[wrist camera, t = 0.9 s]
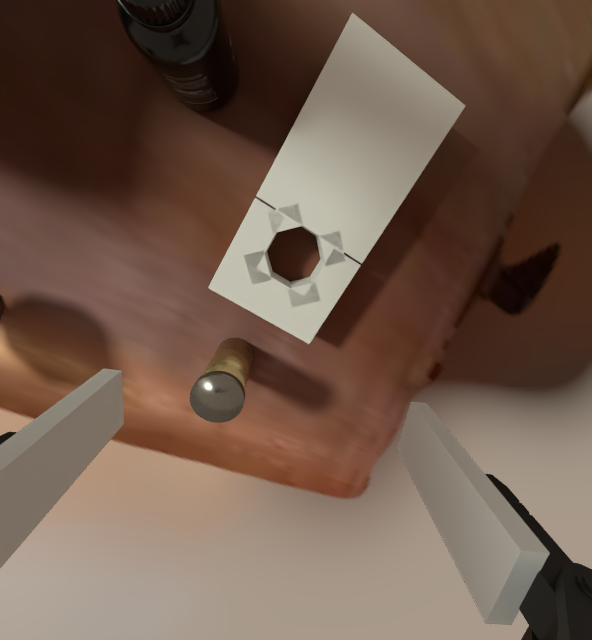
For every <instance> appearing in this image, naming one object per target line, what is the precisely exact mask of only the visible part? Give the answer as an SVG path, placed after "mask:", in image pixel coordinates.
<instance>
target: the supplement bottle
mask: <svg viewBox="0 0 592 640" xmlns="http://www.w3.org/2000/svg"><path fill="white" fill-rule="evenodd" d="M116 5H117V10H118V14H119V17H120V20H121V23H122V25H123V28H124V30H125V32H126V34H127V35H128V37H129V39H130V40H131V42H132V43H133V44H134V46H135V47H136V49H137V50H138V51H139V52H140V54H141V55H142V56H143V57H144V58H145V60H146V61H147V62H148V63H149V65H150V66H151V67H152V68H153V70H154V71H155V72H156V73H157V75H158V76H159V77H160V78H161V79H162V81H163V82H164V83H165V84H166V86H167V87H168V88H169V89H170V91H171V92H172V93H173V94H174V95H175V96H176V98H177V99H178V100H179V101H180V102H181V103H183V104H184V105H185V106H187V107H188V108H190V109H193V110H195V111H199V112H212V111H216V110H218V109H220V108H222V107H223V106H224V105H226V104H227V103H228V102H229V100H230V99H231V98H232V96H233V94H234V92H235V89H236V86H237V82H238V63H237V58H236V54H235V51H234V47H233V44H232V40H231V37H230V33H229V30H228V26H227V23H226V20H225V16H224V13H223V9H222V6H221V2H220V0H116Z"/></svg>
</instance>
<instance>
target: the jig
mask: <svg viewBox="0 0 592 640" xmlns="http://www.w3.org/2000/svg"><path fill="white" fill-rule="evenodd" d="M464 108H465V105H464V104H463V103H462V102H460V101H459V100H458V99H457V98H456V97H454V96H453V95H452V94H451V93H449V92H448V91H447V90H446V89H445V88H443V87H442V86H441V85H440V84H439V83H437V82H436V81H435V80H434V79H432V78H431V77H430V76H429V75H428V74H426V73H425V72H424V71H423V70H422V69H420V68H419V67H418V66H417V65H415V64H414V63H413V62H412V61H411V60H409V59H408V58H407V57H406V56H405V55H403V54H402V53H401V52H400V51H398V50H397V49H396V48H395V47H394V46H392V45H391V44H390V43H389V42H388V41H386V40H385V39H384V38H383V37H381V36H380V35H379V34H378V33H377V32H375V31H374V30H373V29H372V28H371V27H369V26H368V25H367V24H366V23H364V22H363V21H362V20H361V19H360V18H358V17H357V16H356V15H355V14H354V13H352V14H351V16H350V18H349V20H348V22H347V24H346V26H345V28H344V30H343V32H342V34H341V35H340V37H339V39H338V41H337V43H336V45H335V47H334V49H333V51H332V53H331V54H330V56H329V58H328V60H327V62H326V64H325V66H324V68H323V70H322V72H321V74H320V75H319V77H318V79H317V81H316V83H315V85H314V87H313V89H312V91H311V93H310V94H309V96H308V98H307V100H306V102H305V104H304V106H303V108H302V110H301V112H300V114H299V115H298V117H297V119H296V121H295V123H294V125H293V127H292V129H291V131H290V133H289V135H288V136H287V138H286V140H285V142H284V144H283V146H282V148H281V150H280V152H279V154H278V155H277V157H276V159H275V161H274V163H273V165H272V167H271V169H270V171H269V173H268V175H267V176H266V178H265V180H264V182H263V184H262V186H261V188H260V190H259V192H258V194H257V195H256V196H257V197H258V199H259V200H260V201H259V200H258V199H256V198H255V199H254V201H253V203H252V205H251V207H250V209H249V211H248V213H247V215H246V216H245V218H244V220H243V222H242V224H241V226H240V228H239V230H238V232H237V234H236V236H235V237H234V239H233V241H232V243H231V245H230V247H229V249H228V251H227V253H226V255H225V256H224V258H223V260H222V262H221V264H220V266H219V268H218V270H217V272H216V274H215V276H214V277H213V279H212V281H211V283H210V285H209V287H208V288H209V289H211V290H213V291H215V292H216V293H218V294H220V295H222V296H224V297H225V298H227V299H229V300H231V301H233V302H234V303H236V304H238V305H240V306H242V307H243V308H245V309H247V310H249V311H251V312H252V313H254V314H256V315H258V316H260V317H261V318H263V319H265V320H267V321H268V322H270V323H272V324H274V325H276V326H277V327H279V328H281V329H283V330H285V331H286V332H288V333H290V334H292V335H294V336H295V337H297V338H299V339H301V340H303V341H304V342H306V343H308V344H310V342H311V341H312V339H313V338H314V336H315V335H316V333H317V331H318V330H319V328H320V327H321V325H322V324H323V322H324V321H325V319H326V318H327V316H328V315H329V313H330V312H331V310H332V309H333V307H334V306H335V304H336V303H337V301H338V299H339V298H340V296H341V295H342V293H343V292H344V290H345V289H346V287H347V286H348V284H349V283H350V281H351V280H352V278H353V277H354V275H355V274H356V272H357V271H358V269H359V267H360V266H361V265H360V264H358V263H356V262H355V261H357V262H359V263H363V261H364V260H365V258H366V257H367V255H368V254H369V252H370V251H371V249H372V248H373V246H374V245H375V243H376V242H377V240H378V239H379V237H380V235H381V234H382V232H383V231H384V229H385V228H386V226H387V225H388V223H389V222H390V220H391V219H392V217H393V216H394V214H395V213H396V211H397V210H398V208H399V207H400V205H401V203H402V202H403V200H404V199H405V197H406V196H407V194H408V193H409V191H410V190H411V188H412V187H413V185H414V184H415V182H416V181H417V179H418V178H419V176H420V175H421V173H422V172H423V170H424V168H425V167H426V165H427V164H428V162H429V161H430V159H431V158H432V156H433V155H434V153H435V152H436V150H437V149H438V147H439V146H440V144H441V143H442V141H443V140H444V138H445V136H446V135H447V133H448V132H449V130H450V129H451V127H452V126H453V124H454V123H455V121H456V120H457V118H458V117H459V115H460V114H461V112H462V111H463V109H464ZM261 201H262V202H263V203H262V202H261ZM264 203H265V204H264ZM267 205H268V206H267ZM269 206H270V207H271V208H270V207H269ZM272 208H273V209H274V210H273V209H272ZM300 226H301V227H302V228H304V229H306V230H307V231H309V232H310V233H312V234H313V235H315V236H316V240H317V245H318V249H319V254H320V261H319V263H318V264H317V266H316V268H315V269H314V271H313V272H312V274H311V276H310V277H307V278H303V279H299V280H296V281H292V282H289V281H288V280H286V279H284V278H283V277H281V276H279V275H278V274H276V273H274V272H273V271H272V268H271V264H270V260H269V257H268V253H267V250H268V248H269V247H270V245H271V243H272V241H273V239H274V238H275V236H276V234H277V232H281V231H285V230H289V229H292V228H296V227H300ZM344 254H345V255H346V256H345V255H344ZM347 256H348V257H347ZM350 258H351V259H350ZM352 259H353V260H355V261H353V260H352Z"/></svg>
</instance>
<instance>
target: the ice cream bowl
mask: <svg viewBox="0 0 592 640" xmlns="http://www.w3.org/2000/svg"><path fill="white" fill-rule="evenodd" d="M3 309H4V308H3V305H2V303H1V300H0V317H1V315H2V312H3Z"/></svg>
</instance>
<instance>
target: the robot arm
mask: <svg viewBox="0 0 592 640" xmlns="http://www.w3.org/2000/svg"><path fill="white" fill-rule="evenodd" d="M123 424H124V420H123V393H122V370H113V369H102V370H101V371H99V372H98V373H97V374H95V375H94V376H93V377H91V378H90V379H89V380H87V381H86V382H85V383H83V384H82V385H81V386H79V387H78V388H76V389H75V390H74V391H72V392H71V393H70V394H68V395H67V396H66V397H64V398H63V399H62V400H60V401H59V402H58V403H56V404H55V405H54V406H52V407H51V408H49V409H48V410H47V411H45V412H44V413H43V414H41V415H40V416H39V417H37V418H36V419H35V420H33V421H32V422H31V423H29V424H28V425H27V426H25V427H24V428H22V429H21V430H20V431H19V432H17V433H16V432H8V433H6V434H3V435H1V436H0V568H1V567H2V566H3V565H4V564H5V562H6V561H7V560H8V559H9V558H10V557H11V555H12V554H13V553H14V552H15V551H16V550H17V548H18V547H19V546H20V545H21V544H22V543H23V541H24V540H25V539H26V538H27V537H28V535H29V534H30V533H31V532H32V531H33V530H34V528H35V527H36V526H37V525H38V524H39V523H40V521H41V520H42V519H43V518H44V517H45V515H46V514H47V513H48V512H49V511H50V510H51V509H52V507H53V506H54V505H55V504H56V503H57V501H58V500H59V499H60V498H61V497H62V496H63V494H64V493H65V492H66V491H67V490H68V489H69V487H70V486H71V485H72V484H73V483H74V482H75V480H76V479H77V478H78V477H79V476H80V474H81V473H82V472H83V471H84V470H85V469H86V468H87V466H88V465H89V464H90V463H91V461H92V460H93V459H94V458H95V457H96V456H97V455H98V453H99V452H100V451H101V450H102V449H103V448H104V446H105V445H106V444H107V443H108V442H109V441H110V439H111V438H112V437H113V436H114V435H115V434H116V432H117V431H118V430H119V429H120V428H121V426H122V425H123ZM397 451H398V453H399V454H400V456H401V458H402V460H403V462H404V464H405V466H406V468H407V470H408V472H409V474H410V476H411V478H412V480H413V481H414V484H415V486H416V488H417V490H418V492H419V494H420V496H421V498H422V500H423V502H424V504H425V505H426V508H427V510H428V512H429V514H430V515H431V517H432V519H433V521H434V523H435V525H436V527H437V529H438V531H439V533H440V535H441V537H442V539H443V541H444V543H445V545H446V547H447V549H448V551H449V553H450V555H451V557H452V559H453V561H454V563H455V565H456V567H457V568H458V571H459V573H460V575H461V576H462V579H463V580H464V582H465V584H466V586H467V588H468V590H469V592H470V594H471V596H472V598H473V600H474V602H475V604H476V606H477V608H478V610H479V612H480V614H481V616H482V618H483V620H484V622H485V623H487V624H504V625H512V623H513V621H514V619H515V617H516V616H517V614H518V611H519V610H520V611H521V613H522V614H523V616H524V618H525V619H526V621H527V622H528V624H529V627H528V629H527V630H526V632H525V634H524V636H523V637H522V639H521V640H592V569H590V568H587V567H585V566H583V565H581V564H578V563H573V562H572V561H571V560H570V559H569V558H568V556H567V555H566V554H565V553H564V552H563V551H562V549H561V548H560V547H559V546H558V545H557V544H556V543H555V541H554V540H553V539H552V538H551V537H550V536H549V535H548V533H547V532H546V531H545V530H544V529H543V528H542V526H541V525H540V524H539V523H538V522H537V521H536V520H535V518H534V517H533V516H532V515H530V514H529V512H528V511H527V509H526V508H525V507H524V506H523V505H522V503H519V500H518V499H517V498H516V496H515V495H514V494H513V493H512V492H511V491H510V490H509V489H508V487H507V486H505V485H504V484H503V483H502V482H500V481H499V480H498V479H497V478H495V477H494V476H493V475H491V474H485V473H484V472H483V471H482V470H481V469H480V467H479V466H478V465H477V464H476V462H475V461H474V460H473V459H472V458H471V456H470V455H469V454H468V453H467V451H466V450H465V449H464V448H463V447H462V446H461V444H460V443H459V442H458V441H457V439H456V438H455V437H454V436H453V434H452V433H451V432H450V431H449V430H448V428H447V427H446V426H445V425H444V423H443V422H442V421H441V420H440V419H439V417H438V416H437V415H436V414H435V413H434V411H433V410H432V409H431V408H430V407H429V405H428V404H427V403H421V402H412V401H411V403H410V407H409V410H408V414H407V417H406V421H405V424H404V428H403V431H402V435H401V438H400V442H399V445H398V449H397Z"/></svg>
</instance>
